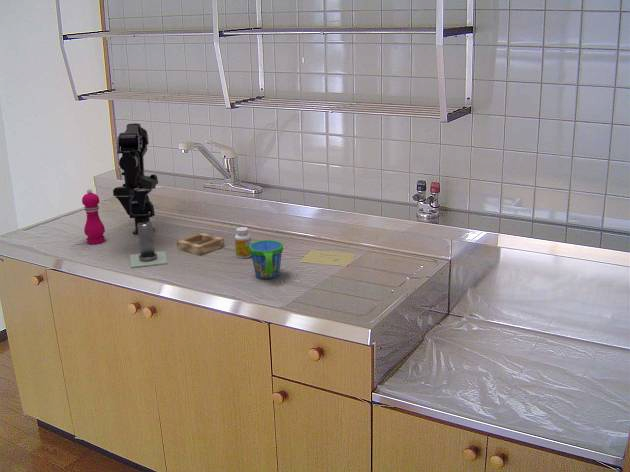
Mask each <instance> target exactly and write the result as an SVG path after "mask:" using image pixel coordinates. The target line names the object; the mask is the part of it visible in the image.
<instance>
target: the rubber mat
mask: <svg viewBox="0 0 630 472" xmlns="http://www.w3.org/2000/svg"><path fill="white" fill-rule="evenodd" d="M155 253H156V254H157V259H156V260H154V261H150V262H142V261H140V260H139V255H141V254H140V253H136V254H129V261H130V262H129V263H130V264H129V265H130V269H136V268H146V267H155V266H160V265H161V266H162V265H168V264H169V263H168V258H167V254H166V251H165V250H163V251H155Z"/></svg>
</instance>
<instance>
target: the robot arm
mask: <svg viewBox="0 0 630 472" xmlns="http://www.w3.org/2000/svg"><path fill="white" fill-rule="evenodd" d="M125 129H126V130H125V131H124V132H120V133H119V134H118V136H117V138H116V139H117V140H116V144H117V146H116V147H117V151H116V152H117V153H116V154H117V155H118V154H121V157H120V158H119V161H118V165H119V167H120V169H121V170H122V171H123V172H121V176H123V178H124V183H123V184H122V186H118V187H114V189H112V195H113V196H114V197H115V198H116V199H117V200H118V202H119V203H120V205H121V206H122V207H123V209H124V211H125V213H126V214H127V215H128V216H129V219H134V227H135V230H133V232H132V235H138V227H137V224H138V223H140V222H151V218H153V217H154V216H155V215H156V213H155V207H154V206H155V205H154V204H153V203H152V201H151V199H150V197H149V194H150V193H151V192H152V190H155V189H156V186H157V184H159V179H158V176H157V174H150V175H145V163H144V162H145V161H144V157H145V155H146V153H147V152H148V145H149V143H150V142H149V141H150V140H149V134H148V131H147V130H146V129H145V128H143V127H142V124H141V123H136V122H135V123H128V124H126V128H125ZM152 229H153V230H154V229H155V228H154V227H152Z"/></svg>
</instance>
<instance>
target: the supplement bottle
mask: <svg viewBox="0 0 630 472" xmlns="http://www.w3.org/2000/svg"><path fill="white" fill-rule="evenodd" d="M234 243H235V244H234V246H235V257H236V258H239V259H247V258H250V257H252V255H251V253H250V251H249V246H250V245H251V244H252V238H251V234H250V233H249V228H248V227H246V226H241V227H237V228H236V234H235V236H234Z"/></svg>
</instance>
